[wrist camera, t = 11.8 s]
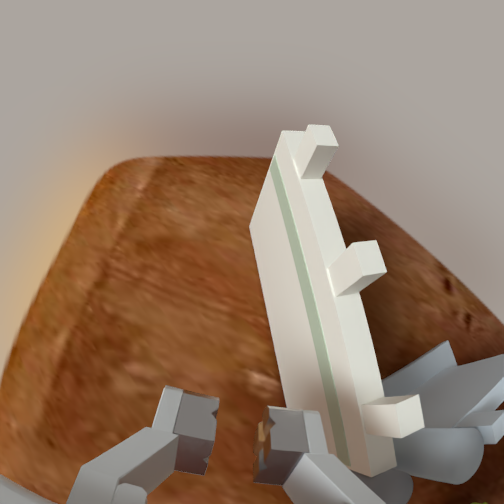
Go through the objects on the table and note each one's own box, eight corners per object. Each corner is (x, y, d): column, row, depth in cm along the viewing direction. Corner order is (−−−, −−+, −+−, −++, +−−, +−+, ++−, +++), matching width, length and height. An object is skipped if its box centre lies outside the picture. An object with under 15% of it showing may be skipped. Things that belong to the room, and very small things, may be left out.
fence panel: (322, 465, 18) (444, 511, 7) (294, 473, 17) (400, 537, 6) (269, 224, 25) (325, 98, 14) (244, 226, 24) (285, 95, 13)
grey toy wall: (442, 342, 23) (558, 294, 12) (459, 391, 22) (577, 364, 11) (314, 414, 20) (437, 422, 8) (337, 473, 18) (462, 518, 7)
